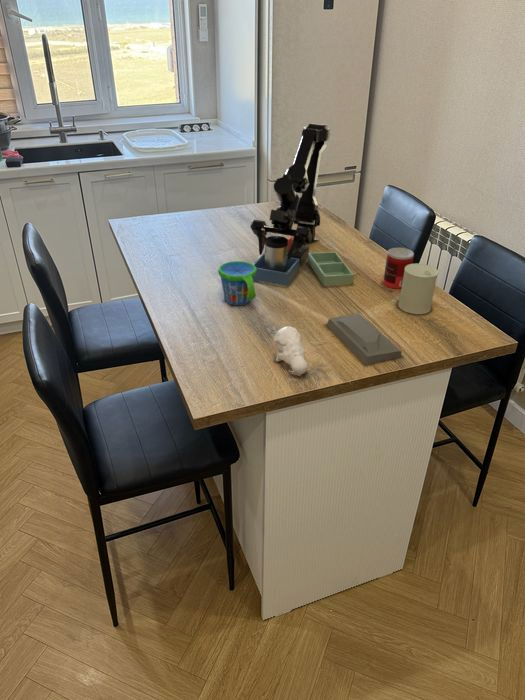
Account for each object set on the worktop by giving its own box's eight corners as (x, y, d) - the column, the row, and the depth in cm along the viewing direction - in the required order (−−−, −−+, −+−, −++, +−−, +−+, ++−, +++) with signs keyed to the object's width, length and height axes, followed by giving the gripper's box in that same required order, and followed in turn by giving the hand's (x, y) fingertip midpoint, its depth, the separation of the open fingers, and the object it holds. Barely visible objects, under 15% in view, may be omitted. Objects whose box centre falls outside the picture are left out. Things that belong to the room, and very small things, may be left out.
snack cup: (210, 292, 163) (209, 260, 157) (243, 286, 167) (243, 255, 161) (231, 316, 151) (231, 282, 145) (265, 308, 155) (266, 275, 149)
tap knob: (287, 246, 186) (287, 234, 184) (298, 248, 185) (299, 235, 183) (283, 250, 183) (284, 238, 181) (294, 252, 182) (295, 240, 179)
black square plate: (281, 250, 191) (281, 241, 189) (308, 254, 188) (309, 246, 186) (271, 260, 183) (272, 251, 181) (300, 265, 180) (300, 256, 179)
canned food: (410, 283, 171) (416, 250, 165) (404, 293, 165) (410, 259, 159) (386, 278, 174) (391, 245, 168) (379, 288, 168) (385, 254, 162)
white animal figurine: (297, 321, 132) (318, 350, 123) (294, 349, 137) (313, 379, 128) (272, 325, 130) (292, 355, 121) (270, 353, 135) (288, 384, 126)
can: (412, 317, 153) (420, 278, 146) (391, 303, 159) (397, 265, 153) (437, 310, 156) (446, 271, 150) (416, 296, 163) (423, 259, 157)
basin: (263, 265, 180) (263, 252, 177) (299, 272, 176) (299, 258, 174) (249, 280, 170) (249, 267, 167) (287, 287, 166) (287, 273, 164)
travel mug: (283, 269, 176) (285, 235, 170) (288, 278, 170) (290, 243, 164) (262, 270, 175) (263, 236, 169) (266, 279, 169) (267, 244, 163)
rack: (307, 263, 182) (308, 252, 180) (334, 261, 184) (335, 251, 182) (323, 287, 167) (324, 276, 165) (352, 285, 169) (354, 274, 167)
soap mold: (365, 364, 132) (367, 352, 130) (326, 325, 148) (327, 314, 146) (401, 356, 136) (403, 344, 134) (359, 319, 151) (361, 307, 149)
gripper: (252, 193, 166) (238, 241, 163) (312, 201, 160) (298, 250, 158) (261, 211, 176) (248, 256, 173) (317, 219, 171) (305, 265, 168)
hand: (274, 256), depth 168 cm, fingers open, 9 cm apart
